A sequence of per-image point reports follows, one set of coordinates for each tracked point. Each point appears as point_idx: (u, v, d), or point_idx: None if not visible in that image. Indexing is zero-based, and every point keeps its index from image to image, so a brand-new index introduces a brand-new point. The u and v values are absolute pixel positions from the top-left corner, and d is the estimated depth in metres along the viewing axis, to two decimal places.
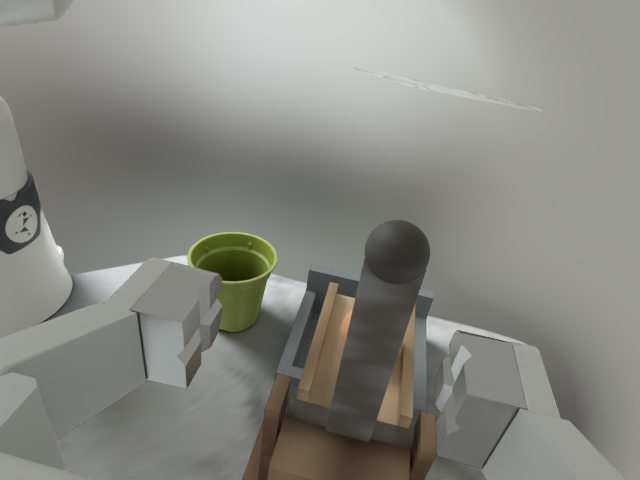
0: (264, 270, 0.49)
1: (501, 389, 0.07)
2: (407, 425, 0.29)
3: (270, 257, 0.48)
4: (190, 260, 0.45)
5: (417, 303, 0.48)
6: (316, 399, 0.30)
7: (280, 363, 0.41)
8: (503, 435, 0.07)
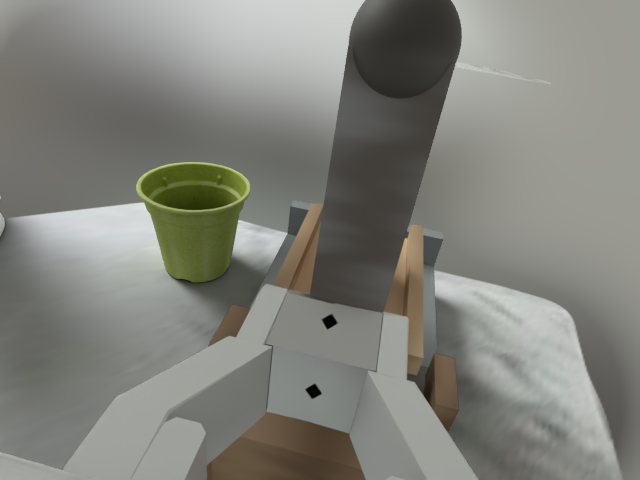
0: None
1: (356, 353, 0.07)
2: (415, 370, 0.20)
3: (242, 190, 0.39)
4: (139, 187, 0.36)
5: (423, 246, 0.39)
6: None
7: None
8: (360, 399, 0.07)
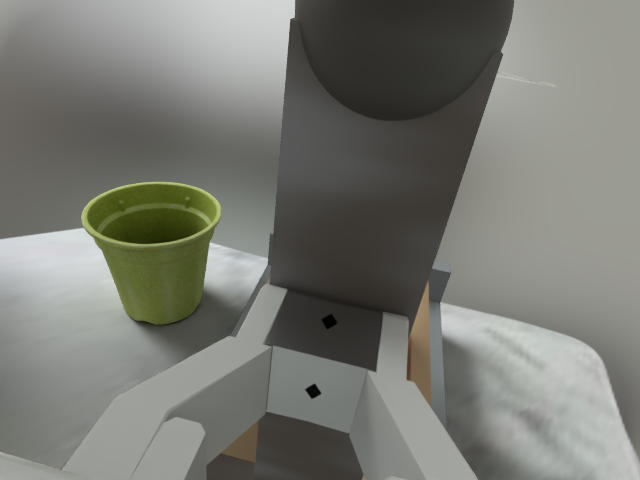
0: None
1: (356, 353, 0.07)
2: None
3: (213, 215, 0.33)
4: (85, 215, 0.30)
5: None
6: (238, 446, 0.15)
7: None
8: (360, 399, 0.07)
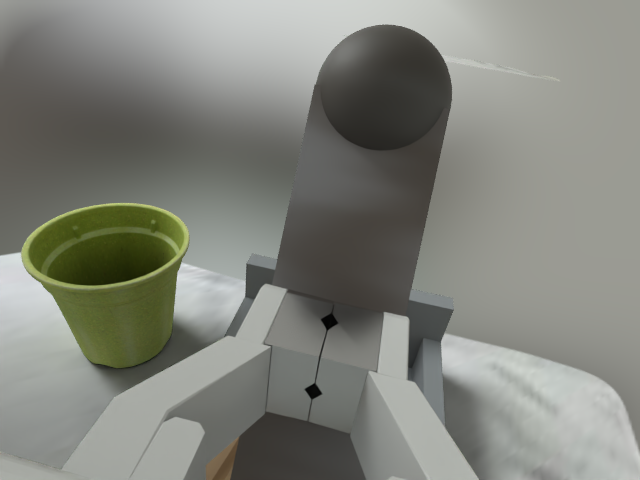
0: None
1: (357, 353, 0.07)
2: None
3: (181, 242, 0.29)
4: (27, 248, 0.25)
5: (426, 317, 0.29)
6: None
7: None
8: (361, 399, 0.07)
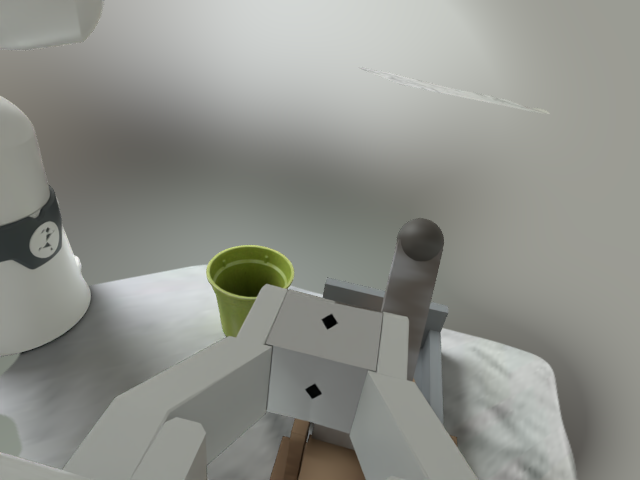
0: (280, 283, 0.50)
1: (356, 353, 0.07)
2: None
3: (286, 270, 0.49)
4: (209, 275, 0.45)
5: (432, 317, 0.48)
6: None
7: None
8: (360, 399, 0.07)
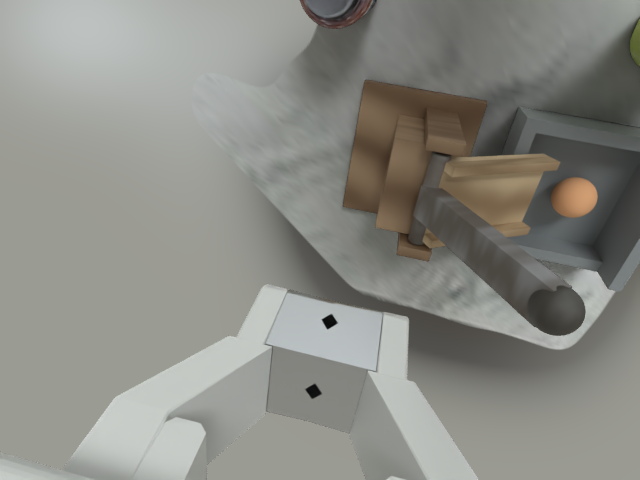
0: None
1: (356, 353, 0.07)
2: (424, 241, 0.39)
3: None
4: None
5: (610, 270, 0.43)
6: (445, 176, 0.36)
7: (540, 121, 0.39)
8: (360, 399, 0.07)
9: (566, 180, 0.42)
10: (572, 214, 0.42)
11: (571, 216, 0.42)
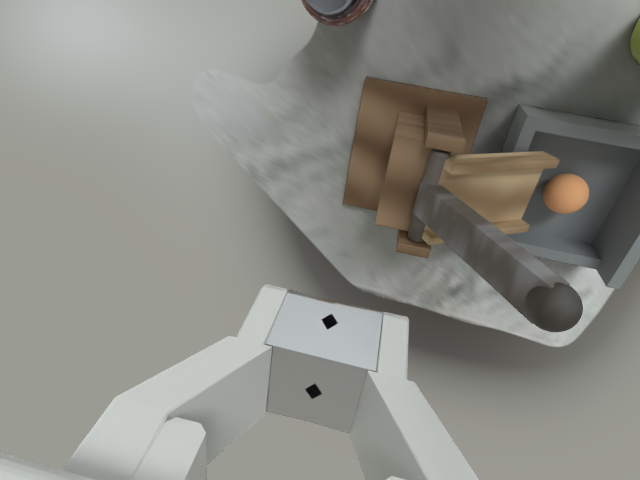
0: None
1: (356, 353, 0.07)
2: (423, 238, 0.39)
3: None
4: None
5: (609, 268, 0.43)
6: (444, 174, 0.36)
7: (539, 119, 0.39)
8: (360, 399, 0.07)
9: (558, 175, 0.43)
10: (557, 208, 0.42)
11: (558, 211, 0.43)
